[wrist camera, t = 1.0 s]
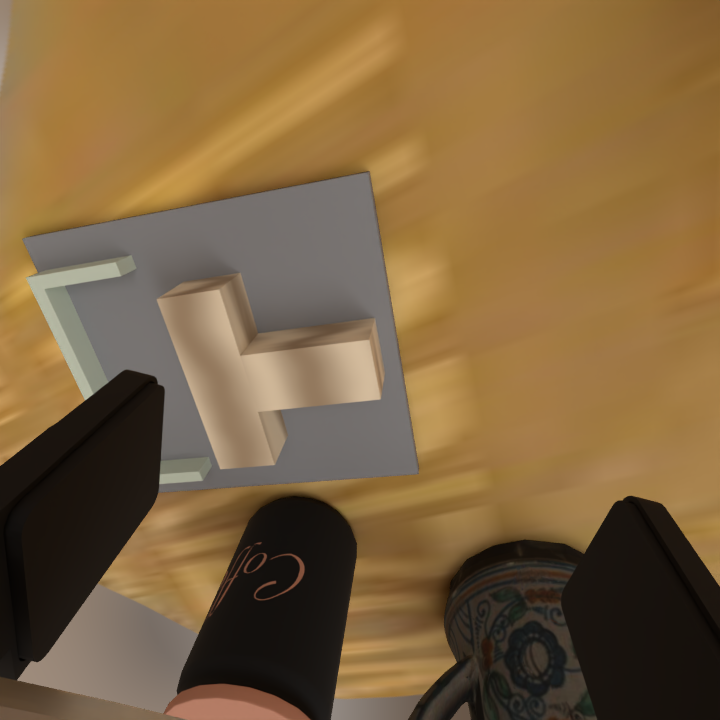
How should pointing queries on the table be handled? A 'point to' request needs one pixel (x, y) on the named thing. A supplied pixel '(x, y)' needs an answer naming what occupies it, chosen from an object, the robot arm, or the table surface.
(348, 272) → the mat
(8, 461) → the robot arm
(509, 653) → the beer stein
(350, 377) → the t block
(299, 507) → the coffee jar
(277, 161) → the table surface
